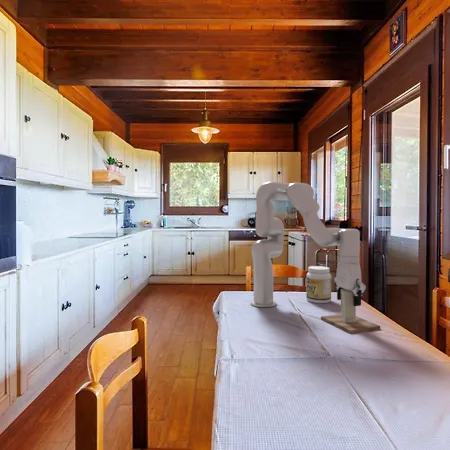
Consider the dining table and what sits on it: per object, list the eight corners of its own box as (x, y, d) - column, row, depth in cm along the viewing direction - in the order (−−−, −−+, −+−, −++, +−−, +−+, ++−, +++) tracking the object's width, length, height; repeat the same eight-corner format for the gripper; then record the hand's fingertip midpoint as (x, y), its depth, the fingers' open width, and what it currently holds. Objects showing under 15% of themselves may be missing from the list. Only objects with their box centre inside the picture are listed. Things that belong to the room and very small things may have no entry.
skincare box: (356, 323, 131) (356, 292, 130) (344, 323, 131) (344, 292, 131) (351, 318, 137) (351, 288, 137) (340, 318, 138) (340, 288, 137)
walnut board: (320, 319, 140) (320, 316, 140) (348, 315, 145) (348, 313, 145) (350, 333, 123) (350, 330, 123) (380, 329, 128) (380, 325, 128)
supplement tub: (301, 299, 173) (301, 266, 172) (319, 296, 178) (319, 265, 178) (318, 305, 162) (318, 270, 161) (336, 301, 168) (336, 268, 167)
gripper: (327, 257, 140) (327, 298, 141) (356, 263, 124) (356, 309, 124) (342, 256, 142) (342, 296, 143) (373, 262, 126) (372, 307, 127)
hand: (348, 302), depth 134 cm, fingers open, 9 cm apart
